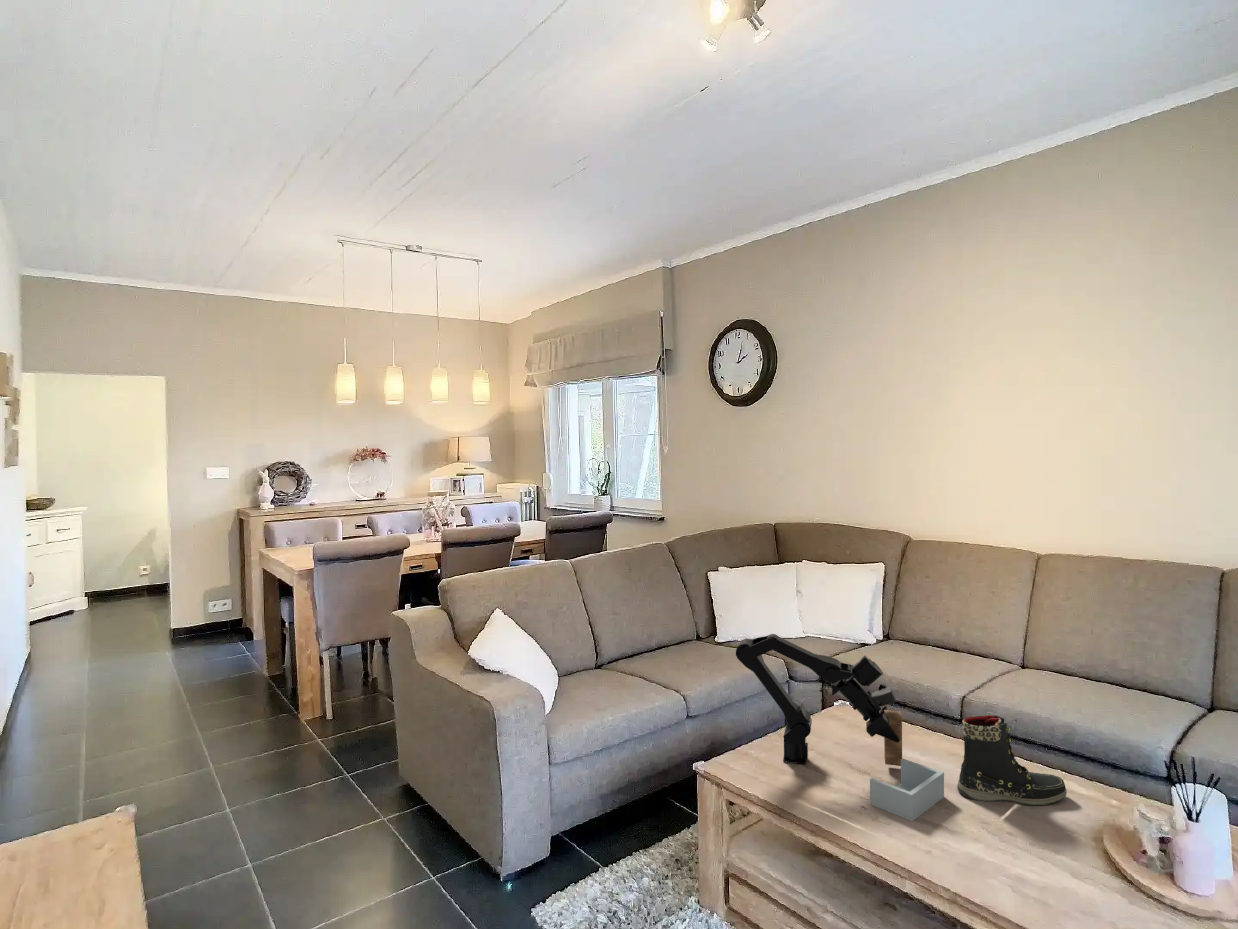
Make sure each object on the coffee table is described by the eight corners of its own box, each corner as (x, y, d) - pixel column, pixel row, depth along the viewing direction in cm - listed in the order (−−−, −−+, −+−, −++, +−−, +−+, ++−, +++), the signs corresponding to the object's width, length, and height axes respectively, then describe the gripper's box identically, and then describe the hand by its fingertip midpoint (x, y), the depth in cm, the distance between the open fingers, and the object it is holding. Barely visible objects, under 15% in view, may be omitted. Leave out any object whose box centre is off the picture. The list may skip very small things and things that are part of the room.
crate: (870, 806, 179) (869, 779, 179) (903, 783, 190) (902, 758, 190) (912, 823, 170) (911, 795, 170) (944, 798, 182) (943, 772, 182)
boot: (1075, 802, 178) (1074, 724, 178) (984, 815, 174) (983, 734, 173) (1037, 780, 191) (1036, 707, 190) (951, 791, 186) (950, 715, 185)
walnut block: (885, 764, 196) (884, 715, 196) (884, 757, 201) (884, 709, 200) (902, 766, 195) (902, 717, 195) (901, 759, 199) (900, 711, 199)
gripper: (879, 689, 190) (923, 733, 186) (876, 668, 207) (916, 708, 204) (849, 714, 192) (891, 758, 189) (849, 691, 210) (888, 731, 207)
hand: (898, 738), depth 197 cm, fingers closed on walnut block, 4 cm apart
